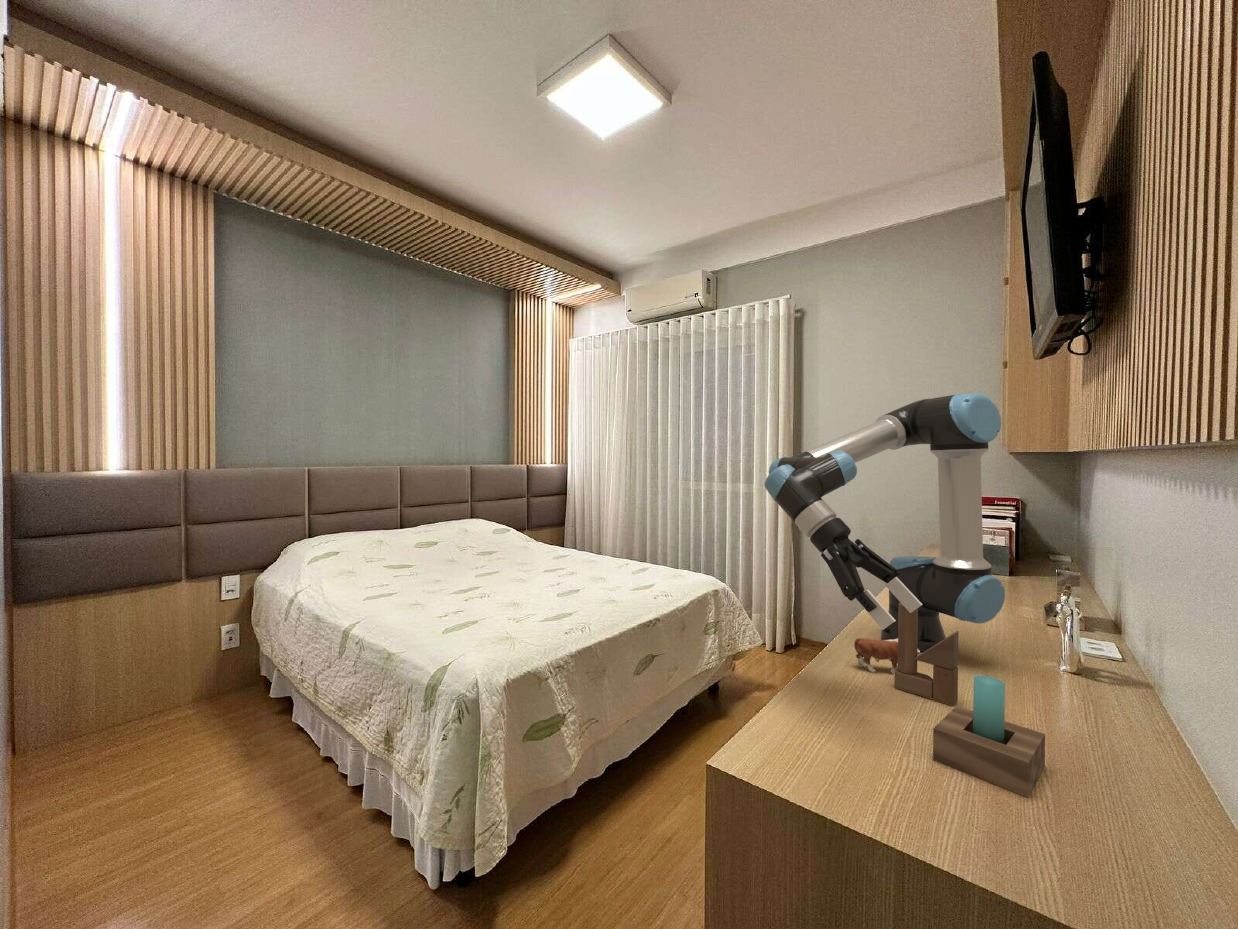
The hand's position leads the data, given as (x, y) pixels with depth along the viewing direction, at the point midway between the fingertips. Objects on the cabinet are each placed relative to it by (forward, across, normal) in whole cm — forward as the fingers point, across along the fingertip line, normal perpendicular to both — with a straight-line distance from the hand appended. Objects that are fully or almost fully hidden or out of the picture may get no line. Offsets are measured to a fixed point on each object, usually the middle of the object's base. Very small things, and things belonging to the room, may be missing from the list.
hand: (903, 617), depth 92 cm
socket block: (+23, +4, -4) cm, 24 cm away
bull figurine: (+6, -22, -22) cm, 32 cm away
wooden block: (+13, -16, -15) cm, 25 cm away
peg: (+22, +4, -4) cm, 23 cm away
